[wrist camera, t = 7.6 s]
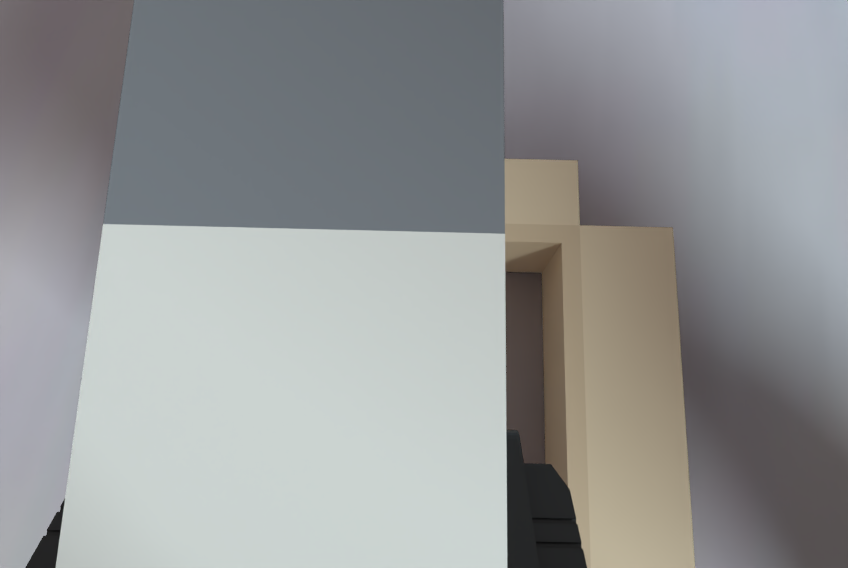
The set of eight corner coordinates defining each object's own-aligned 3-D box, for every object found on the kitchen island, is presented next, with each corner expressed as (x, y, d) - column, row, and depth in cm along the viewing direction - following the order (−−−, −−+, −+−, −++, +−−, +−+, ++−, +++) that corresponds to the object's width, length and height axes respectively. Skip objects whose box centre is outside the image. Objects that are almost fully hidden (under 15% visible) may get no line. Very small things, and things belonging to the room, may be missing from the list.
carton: (634, 202, 36) (668, 162, 31) (661, 722, 31) (708, 771, 26) (199, 192, 36) (165, 150, 31) (145, 711, 30) (93, 759, 26)
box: (453, 232, 21) (503, -69, 9) (448, 648, 18) (510, 988, 6) (297, 228, 21) (145, -79, 9) (269, 644, 18) (-2, 980, 6)
